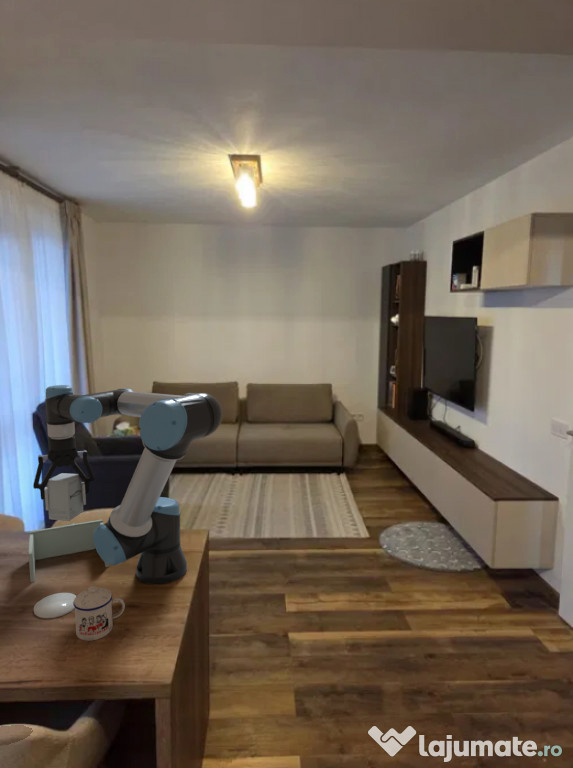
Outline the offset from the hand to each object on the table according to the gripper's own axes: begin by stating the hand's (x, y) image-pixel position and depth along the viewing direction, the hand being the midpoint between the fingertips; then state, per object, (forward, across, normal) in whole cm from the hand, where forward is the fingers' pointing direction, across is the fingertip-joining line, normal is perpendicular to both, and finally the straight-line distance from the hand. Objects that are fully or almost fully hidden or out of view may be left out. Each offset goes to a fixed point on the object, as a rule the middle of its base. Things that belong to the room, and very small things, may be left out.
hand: (66, 505), depth 155 cm
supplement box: (+3, 0, 0) cm, 3 cm away
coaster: (+20, +4, +22) cm, 30 cm away
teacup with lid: (+20, -6, +38) cm, 43 cm away
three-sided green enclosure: (+20, 0, -1) cm, 20 cm away
